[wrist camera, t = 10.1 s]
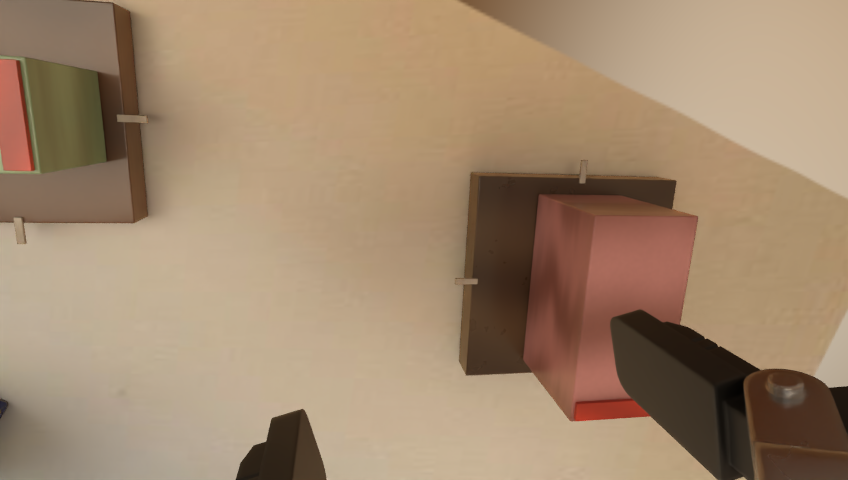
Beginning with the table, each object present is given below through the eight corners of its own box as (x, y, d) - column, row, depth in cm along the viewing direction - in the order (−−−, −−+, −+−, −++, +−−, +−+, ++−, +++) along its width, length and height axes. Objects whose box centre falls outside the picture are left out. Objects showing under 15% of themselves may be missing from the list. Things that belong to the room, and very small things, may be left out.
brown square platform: (454, 153, 31) (462, 156, 29) (674, 161, 33) (697, 163, 31) (442, 376, 34) (449, 393, 32) (642, 367, 37) (661, 382, 35)
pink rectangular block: (538, 193, 30) (597, 216, 23) (621, 195, 31) (702, 217, 24) (522, 359, 33) (572, 425, 26) (599, 356, 34) (668, 418, 27)
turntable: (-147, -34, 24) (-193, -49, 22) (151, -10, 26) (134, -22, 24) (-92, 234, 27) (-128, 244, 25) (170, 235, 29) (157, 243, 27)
